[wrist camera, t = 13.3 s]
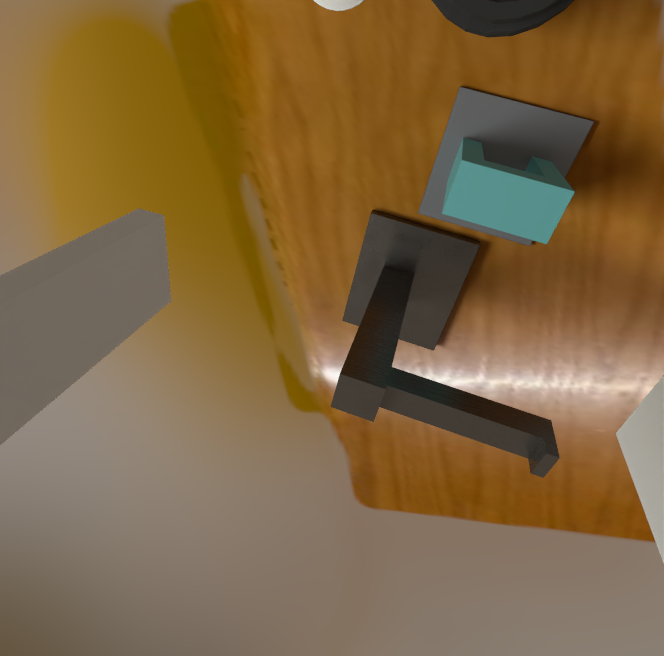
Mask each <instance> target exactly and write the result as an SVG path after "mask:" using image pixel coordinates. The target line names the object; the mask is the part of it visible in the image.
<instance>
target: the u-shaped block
mask: <svg viewBox="0 0 664 656" xmlns="http://www.w3.org/2000/svg"><path fill="white" fill-rule="evenodd" d="M574 192H575V191H574V190H573V188H572V187H571V186H570V185H569V183H568V182H567V181H566V179H565V178H564V177H563V176H562V174H561V173H560V172H559V171H558V169H557V168H556V167H555V165H554V164H553V163H552V162H551V161H548V160H544V159H541V158H537V157H533V156H532V158H531V160H530V162H529V164H528V166H527V169H526V171H522V170H518V169H515V168H511V167H507V166H504V165H500V164H496V163H493V162H489V161H486V160H484V154H483V148H482V142H478V141H474V140H471V139H467V138H463V139H462V142H461V145H460V148H459V150H458V153H457V156H456V159H455V162H454V164H453V167H452V170H451V173H450V176H449V178H448V181H447V187H446V193H445V199H444V205H443V210H442V214H445V215H448V216H452V217H455V218H459V219H462V220H465V221H469V222H472V223H476V224H479V225H483V226H486V227H489V228H493V229H496V230H500V231H503V232H506V233H510V234H513V235H517V236H520V237H524V238H527V239H530V240H534V241H537V242H541V243H544V244H547V243H548V241H549V239H550V237H551V235H552V233H553V231H554V230H555V228H556V226H557V224H558V222H559V220H560V218H561V217H562V215H563V213H564V211H565V209H566V207H567V205H568V204H569V202H570V200H571V198H572V196H573V194H574Z"/></svg>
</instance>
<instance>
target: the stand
mask: <svg viewBox="0 0 664 656" xmlns="http://www.w3.org/2000/svg"><path fill="white" fill-rule="evenodd" d="M479 247H480V241H476V240H473V239H469V238H466V237H463V236H459V235H456V234H453V233H449V232H446V231H442V230H439V229H436V228H432V227H429V226H426V225H422V224H419V223H415V222H412V221H409V220H405V219H402V218H399V217H395V216H392V215H388V214H385V213H382V212H378V211H375V210H373V211H372V212H371V215H370V218H369V222H368V226H367V230H366V233H365V237H364V241H363V245H362V249H361V252H360V256H359V260H358V264H357V267H356V271H355V275H354V279H353V282H352V286H351V290H350V294H349V298H348V301H347V305H346V309H345V313H344V316H343V320H342V321H345V322H348V323H351V324H354V325H357V326H359V328H358V331H357V333H356V336H355V338H354V341H353V343H352V346H351V348H350V351H349V353H348V356H347V358H346V360H345V363H344V365H343V368H342V370H341V373H340V376H339V379H338V383H337V386H336V390H335V393H334V397H333V400H332V404H331V407H333V408H336V409H339V410H341V411H344V412H347V413H350V414H353V415H356V416H358V417H361V418H364V419H367V420H370V421H373V422H374V419H375V417H376V414H377V411H378V409H379V407H381V408H384V409H387V410H390V411H393V412H396V413H399V414H401V415H404V416H407V417H410V418H413V419H416V420H419V421H422V422H424V423H427V424H430V425H433V426H436V427H439V428H442V429H445V430H448V431H450V432H453V433H456V434H459V435H462V436H465V437H468V438H471V439H474V440H476V441H479V442H482V443H485V444H488V445H491V446H494V447H497V448H499V449H502V450H505V451H508V452H511V453H514V454H517V455H520V456H523V457H525V458H528V459H529V466H530V473H531V474H534V475H537V476H540V477H543V478H544V476H545V475H546V474H547V473H548V471H549V470H550V469H551V468H552V467H553V465H554V464H555V463H556V462H557V460H558V459H559V458H560V457H559V453H558V449H557V444H556V440H555V435H554V431H553V427H552V422H551V420H548V419H545V418H542V417H539V416H536V415H533V414H530V413H527V412H524V411H521V410H518V409H515V408H512V407H509V406H506V405H503V404H500V403H498V402H495V401H492V400H489V399H486V398H483V397H480V396H477V395H474V394H471V393H468V392H465V391H462V390H459V389H456V388H453V387H450V386H447V385H444V384H441V383H438V382H435V381H432V380H429V379H426V378H423V377H420V376H417V375H414V374H411V373H408V372H405V371H402V370H399V369H396V368H393V367H392V363H393V359H394V355H395V351H396V347H397V343H398V339H400V340H403V341H406V342H409V343H412V344H415V345H418V346H421V347H424V348H427V349H431V350H434V349H435V347H436V344H437V342H438V340H439V338H440V335H441V333H442V331H443V328H444V326H445V324H446V322H447V319H448V317H449V315H450V313H451V310H452V308H453V306H454V303H455V301H456V299H457V297H458V294H459V292H460V290H461V288H462V285H463V283H464V281H465V278H466V276H467V274H468V272H469V269H470V267H471V265H472V263H473V260H474V258H475V256H476V254H477V251H478V249H479Z"/></svg>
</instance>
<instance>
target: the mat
mask: <svg viewBox="0 0 664 656" xmlns="http://www.w3.org/2000/svg"><path fill="white" fill-rule="evenodd" d="M593 123H594V121H591V120H587V119H583V118H579V117H575V116H571V115H568V114H564V113H560V112H556V111H552V110H548V109H544V108H541V107H537V106H533V105H529V104H525V103H521V102H517V101H514V100H510V99H506V98H502V97H498V96H494V95H490V94H487V93H483V92H479V91H475V90H471V89H467V88H463V87H460V88H459V91H458V94H457V97H456V100H455V103H454V106H453V109H452V112H451V115H450V118H449V121H448V124H447V127H446V130H445V133H444V136H443V139H442V142H441V145H440V148H439V151H438V154H437V157H436V160H435V163H434V166H433V169H432V173H431V176H430V179H429V182H428V185H427V188H426V191H425V194H424V197H423V200H422V203H421V206H420V209H419V212H418V213H419V214H422V215H426V216H429V217H433V218H436V219H439V220H443V221H446V222H450V223H453V224H456V225H460V226H463V227H467V228H470V229H473V230H477V231H480V232H484V233H487V234H490V235H494V236H497V237H501V238H504V239H507V240H511V241H514V242H518V243H521V244H524V245H528V246H530V245H531V243H532V241H533V240H530V239H527V238H524V237H520V236H517V235H513V234H510V233H506V232H503V231H500V230H496V229H493V228H489V227H486V226H483V225H479V224H476V223H472V222H469V221H465V220H462V219H459V218H455V217H452V216H448V215H445V214H442V210H443V205H444V199H445V193H446V187H447V181H448V178H449V176H450V173H451V170H452V167H453V164H454V162H455V159H456V156H457V153H458V150H459V148H460V145H461V142H462V139H463V138H467V139H471V140H474V141H478V142H482V148H483V154H484V160H486V161H489V162H493V163H496V164H500V165H504V166H507V167H511V168H515V169H518V170H522V171H526V169H527V166H528V164H529V162H530V160H531V158H532V156H533V157H537V158H541V159H544V160H548V161H551V162H552V163H553V164H554V165H555V167H556V168H557V169H558V171H559V172H560V173H561V174H562V176H563V177H564V178H565V177H566V175H567V173H568V171H569V169H570V167H571V165H572V163H573V162H574V160H575V158H576V156H577V154H578V152H579V150H580V148H581V146H582V144H583V142H584V140H585V138H586V136H587V134H588V132H589V130H590V129H591V127H592V125H593Z"/></svg>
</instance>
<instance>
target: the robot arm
mask: <svg viewBox="0 0 664 656" xmlns="http://www.w3.org/2000/svg"><path fill="white" fill-rule="evenodd" d="M170 301H171V295H170V282H169V270H168V258H167V247H166V234H165V221H164V215H161V214H157V213H153V212H150V211H146V210H142V209H137V210H135V211H133V212H131V213H129V214H126V215H125V216H123V217H120V218H118V219H116V220H114V221H112V222H110V223H108V224H106V225H104V226H102V227H100V228H98V229H96V230H93V231H91V232H89V233H87V234H85V235H83V236H81V237H79V238H77V239H75V240H73V241H71V242H69V243H67V244H65V245H63V246H60V247H58V248H56V249H54V250H52V251H50V252H48V253H47V254H44V255H42V256H40V257H38V258H36V259H34V260H32V261H30V262H27V263H25V264H23V265H22V266H19V267H17V268H15V269H13V270H11V271H9V272H7V273H5V274H3V275H1V276H0V445H1V444H2V443H3V442H4V441H6V440H7V439H8V438H9V437H10V436H12V435H13V434H14V433H15V432H16V431H17V430H19V429H20V428H21V427H22V426H23V425H24V424H26V423H27V422H28V421H29V420H31V419H32V418H33V417H34V416H35V415H36V414H38V413H39V412H40V411H41V410H42V409H43V408H45V407H46V406H47V405H48V404H49V403H51V402H52V401H53V400H54V399H55V398H57V396H59V395H60V394H61V393H63V392H64V391H65V390H66V389H67V388H69V387H70V386H71V385H72V384H73V383H74V382H76V381H77V380H78V379H79V378H80V377H82V376H83V375H84V374H85V373H86V372H87V371H89V370H90V369H91V368H92V367H93V366H95V365H96V364H97V363H98V362H99V361H101V360H102V359H103V358H104V357H105V356H106V355H108V354H109V353H110V352H111V351H112V350H114V349H115V348H116V347H117V346H118V345H119V344H121V343H122V342H123V341H124V340H125V339H127V338H128V337H129V336H130V335H131V334H133V333H134V332H135V331H136V330H137V329H138V328H140V327H141V326H142V325H143V324H144V323H145V322H147V321H148V320H149V319H150V318H152V317H153V316H154V315H155V314H156V313H157V312H159V311H160V310H161V309H162V308H163V307H165V306H166V305H167V304H168V303H169V302H170ZM616 436H617V438H618V441H619V444H620V446H621V449H622V452H623V454H624V457H625V460H626V463H627V465H628V468H629V471H630V473H631V476H632V479H633V482H634V484H635V487H636V490H637V492H638V495H639V498H640V501H641V503H642V506H643V509H644V511H645V514H646V517H647V520H648V522H649V525H650V528H651V530H652V533H653V536H654V538H655V541H656V544H657V546H658V549H659V552H660V555H661V557H662V560H663V563H664V376H663V377H662V378H661V379H660V380H659V382H658V383H657V384H656V385H655V387H654V388H653V389H652V390H651V391H650V393H649V394H648V395H647V396H646V397H645V399H644V400H643V401H642V402H641V404H640V405H639V406H638V407H637V408H636V410H635V411H634V412H633V413H632V414H631V416H630V417H629V418H628V419H627V421H626V422H625V423H624V424H623V425H622V427H621V428H620V429H619V430H618V431H617V433H616Z"/></svg>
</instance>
